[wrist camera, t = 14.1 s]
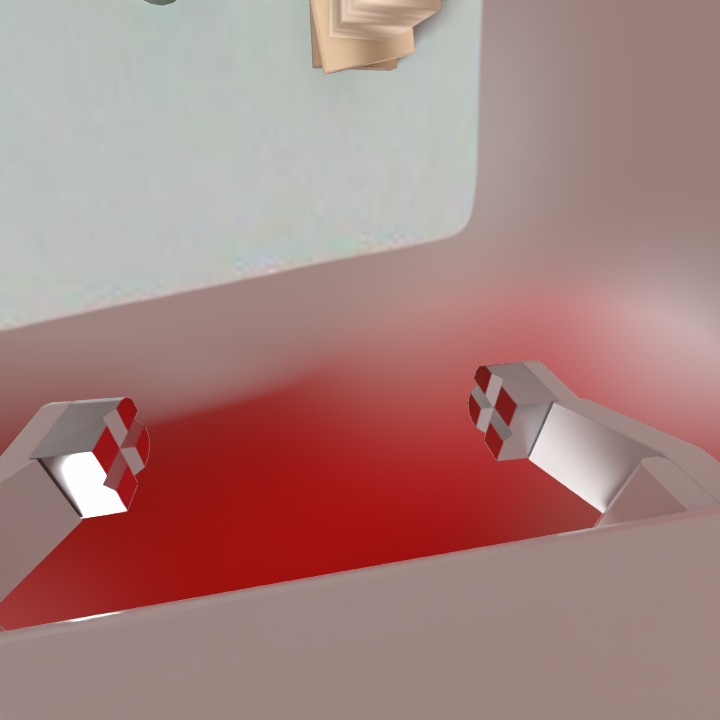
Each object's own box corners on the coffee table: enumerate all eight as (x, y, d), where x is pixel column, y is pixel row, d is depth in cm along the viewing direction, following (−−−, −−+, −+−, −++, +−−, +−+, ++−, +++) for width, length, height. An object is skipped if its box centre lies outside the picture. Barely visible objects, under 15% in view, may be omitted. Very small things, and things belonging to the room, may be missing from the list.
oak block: (323, 74, 30) (327, 71, 27) (300, -47, 26) (302, -64, 23) (404, 56, 30) (414, 52, 28) (393, -67, 26) (405, -85, 24)
